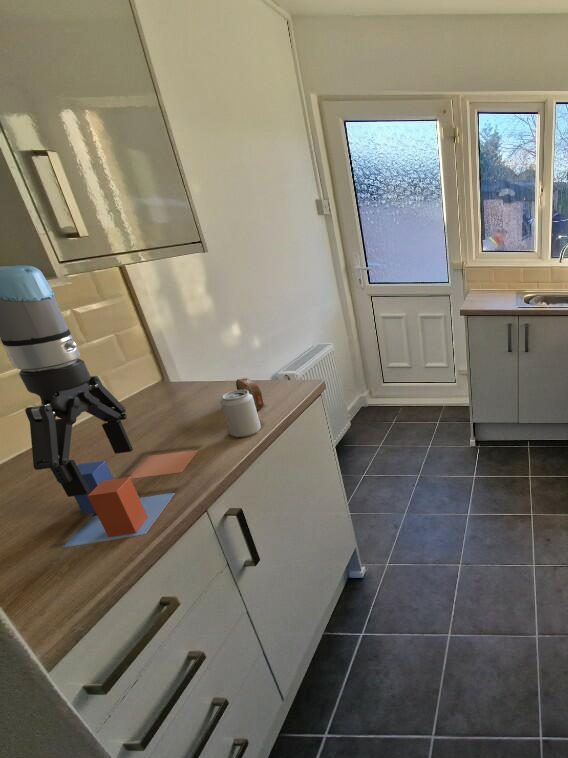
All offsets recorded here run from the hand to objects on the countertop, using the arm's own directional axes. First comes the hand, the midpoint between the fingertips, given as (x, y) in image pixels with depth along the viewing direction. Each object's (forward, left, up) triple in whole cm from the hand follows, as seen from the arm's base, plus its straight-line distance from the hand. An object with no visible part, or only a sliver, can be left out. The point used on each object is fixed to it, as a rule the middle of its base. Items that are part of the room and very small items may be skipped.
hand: (103, 471), depth 76 cm
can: (+11, +36, -14) cm, 40 cm away
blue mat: (-3, +4, -14) cm, 15 cm away
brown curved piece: (+8, +54, -14) cm, 56 cm away
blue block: (-8, +8, -13) cm, 18 cm away
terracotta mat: (-4, +24, -14) cm, 28 cm away
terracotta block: (0, 0, -13) cm, 13 cm away
